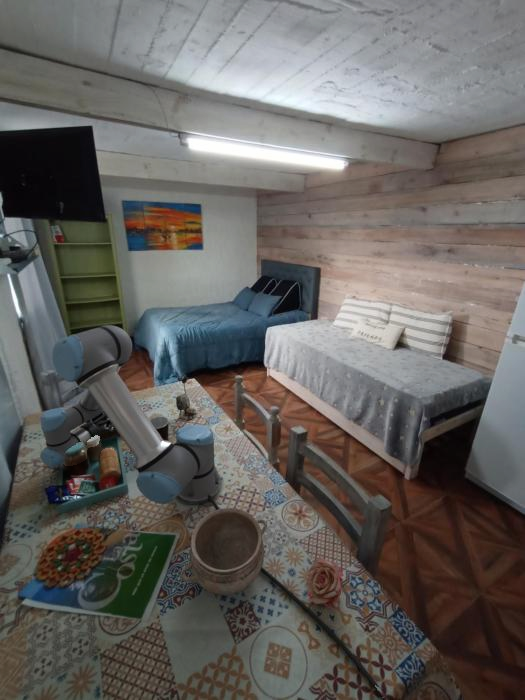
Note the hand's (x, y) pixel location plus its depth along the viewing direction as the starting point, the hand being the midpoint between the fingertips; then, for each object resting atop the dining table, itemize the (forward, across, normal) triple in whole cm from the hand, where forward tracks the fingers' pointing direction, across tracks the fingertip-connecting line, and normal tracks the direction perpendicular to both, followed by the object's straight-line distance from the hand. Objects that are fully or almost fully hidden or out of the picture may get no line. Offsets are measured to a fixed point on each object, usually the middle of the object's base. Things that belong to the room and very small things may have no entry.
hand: (128, 406), depth 142 cm
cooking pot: (-44, +72, -8) cm, 85 cm away
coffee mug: (-6, +22, -8) cm, 24 cm away
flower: (-40, +96, -8) cm, 105 cm away
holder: (-8, -2, -8) cm, 12 cm away
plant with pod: (+14, +21, -8) cm, 26 cm away
